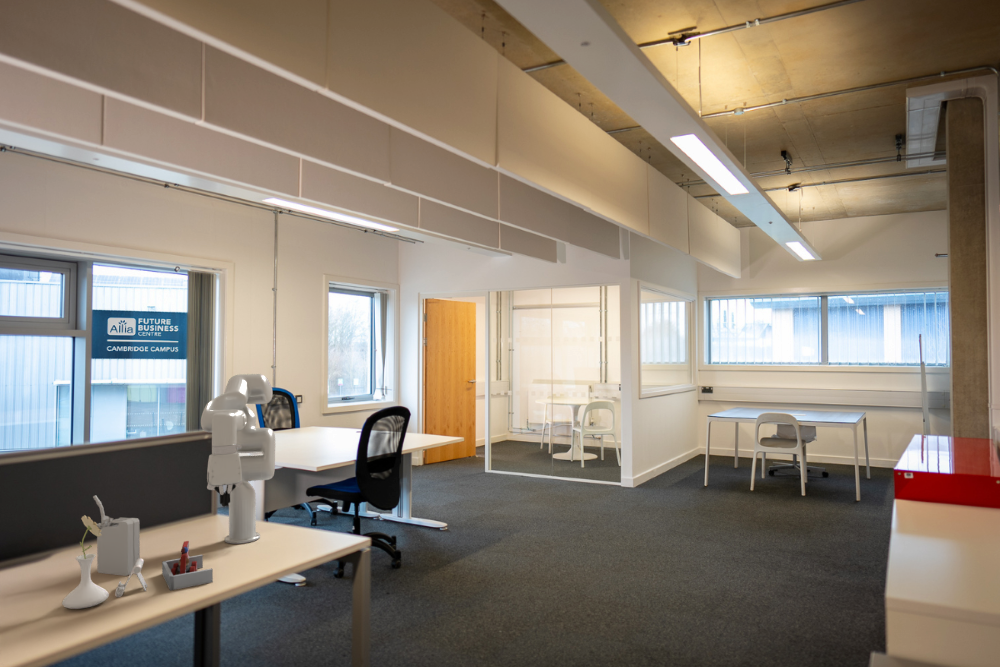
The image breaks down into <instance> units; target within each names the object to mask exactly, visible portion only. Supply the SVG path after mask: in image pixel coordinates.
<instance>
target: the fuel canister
mask: <svg viewBox="0 0 1000 667" xmlns="http://www.w3.org/2000/svg"><path fill="white" fill-rule="evenodd" d="M92 498H93V500H94V501H95V503H96V505H97V506H98V507H99V512H100V516H101V517H100V518H101V519H100V520H101V522H99V523H97V525H96V526H97V527H98V528H99V529H100V530H101V532H100V533H101V534H102V536H100V537H98V536H96V537H97V538H96V544H97V545H96V547H97V550H96V551H97V552H96V553H97V554H96V556H97V557H96V558H97V560H96V562H97V564H96V565H97V573H99V574H108V575H115V576H117V575H118V576H125V577H127V576H130V573H131V571H132V569H133V567H134V565H135V562H136V561H137V559H139V558H141V554H140V553H141V552H140V550H141V549H140V548H141V547H140V545H141V544H140V543H141V542H140V540H141V538H140V519H139V518H137V517H118V518H115V519H114V518H113V517H110V516H108V515H105V510H104V506H103V503H102V501H101V500H100V499H99V497H98V496H97V495H93V496H92Z"/></svg>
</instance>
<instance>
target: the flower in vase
mask: <svg viewBox="0 0 1000 667" xmlns="http://www.w3.org/2000/svg"><path fill="white" fill-rule="evenodd" d="M80 519H81V520H82V523H83V525H84V527H86V530H85V533H84V535H83V537H82V539H81V541H79V544H80V545H79V546H80V547H82V548H81V549H82V551H81V552H82V553H83V554H81V555H78V556H76V557H75V558H74V559H75V560H76V561H77V562H78V564H79V567H80V575H81V576H80V581H79V584H78V585H77V586H76V587H75V588H74V589H73V590H72V591H70V592H69V593H68V594H67V595H66V596H65V597H64V598H63V599H62V600H63V601H62V602H61V604H62V606H63V607H64V608H66V609H72V610H73V609H75V610H77V609H78V610H79V609H85V608H90V607H94V606H97V605H99V604H101V603H103V602H105V601H106V600H107V599H108V598H109V596H110V594H109V591H107V589H105V588H103V587H101V586H100V585H98V584H96V583H94V582H93V580H92V579H91V568H92V563H93V562H94V559H95V557H96V556H97V554H95V553H85V551H87V550H89V549H90V548H92V545H91V544H89V546H87V548H85V547H84V540H85V538H86V535H87V534H88V531H89V532H90V533H92V534H93V535H94V536H96V537H97V536H98V537H100V536H102V534H101V533H100V532H101V530H100V529H101V528H99V527H98V526H97V524H98V523H97V522H96V521H93V519H91V517H90V516H86V515H85V514H84V515H83V516H81V518H80Z"/></svg>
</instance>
